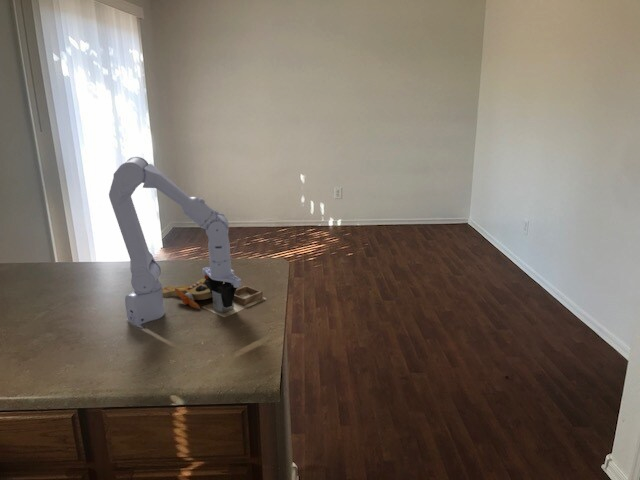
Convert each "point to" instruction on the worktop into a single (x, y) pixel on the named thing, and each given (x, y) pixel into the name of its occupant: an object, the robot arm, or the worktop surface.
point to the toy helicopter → (189, 292)
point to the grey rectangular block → (219, 302)
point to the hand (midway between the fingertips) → (223, 304)
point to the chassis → (241, 300)
